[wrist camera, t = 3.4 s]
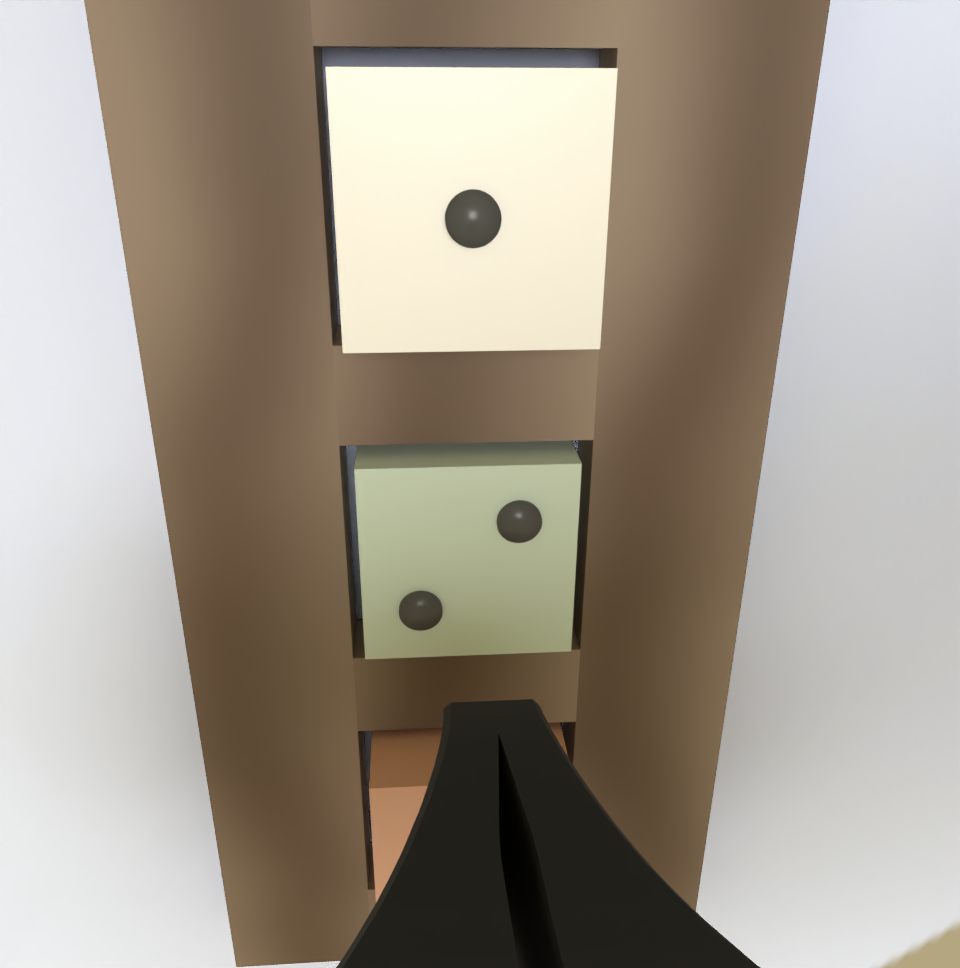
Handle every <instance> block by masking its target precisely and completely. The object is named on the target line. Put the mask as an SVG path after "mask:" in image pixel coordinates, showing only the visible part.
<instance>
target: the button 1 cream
mask: <svg viewBox="0 0 960 968" xmlns="http://www.w3.org/2000/svg"><path fill="white" fill-rule="evenodd" d="M617 71H618V68H551V67H367V66H331V67H326V84H327V100H328V117H329V134H330V150H331V167H332V183H333V200H334V216H335V233H336V250H337V266H338V283H339V299H340V316H341V332H342V349H343V353H394V352H456V351H519V350H581V349H600V343H601V327H602V311H603V295H604V279H605V263H606V247H607V231H608V215H609V199H610V183H611V167H612V151H613V135H614V119H615V103H616V87H617Z"/></svg>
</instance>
